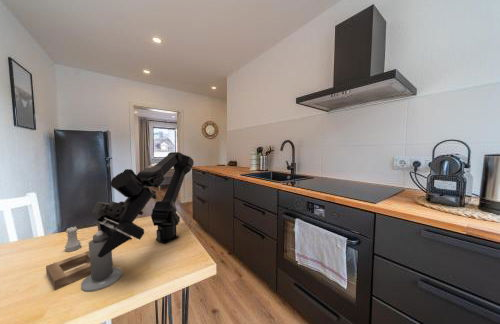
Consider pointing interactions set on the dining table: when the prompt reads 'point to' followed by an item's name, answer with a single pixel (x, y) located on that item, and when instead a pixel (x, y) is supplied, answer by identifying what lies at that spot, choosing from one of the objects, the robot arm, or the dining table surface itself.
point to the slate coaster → (101, 281)
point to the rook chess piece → (72, 240)
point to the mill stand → (61, 278)
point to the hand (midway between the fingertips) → (94, 254)
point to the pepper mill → (100, 265)
